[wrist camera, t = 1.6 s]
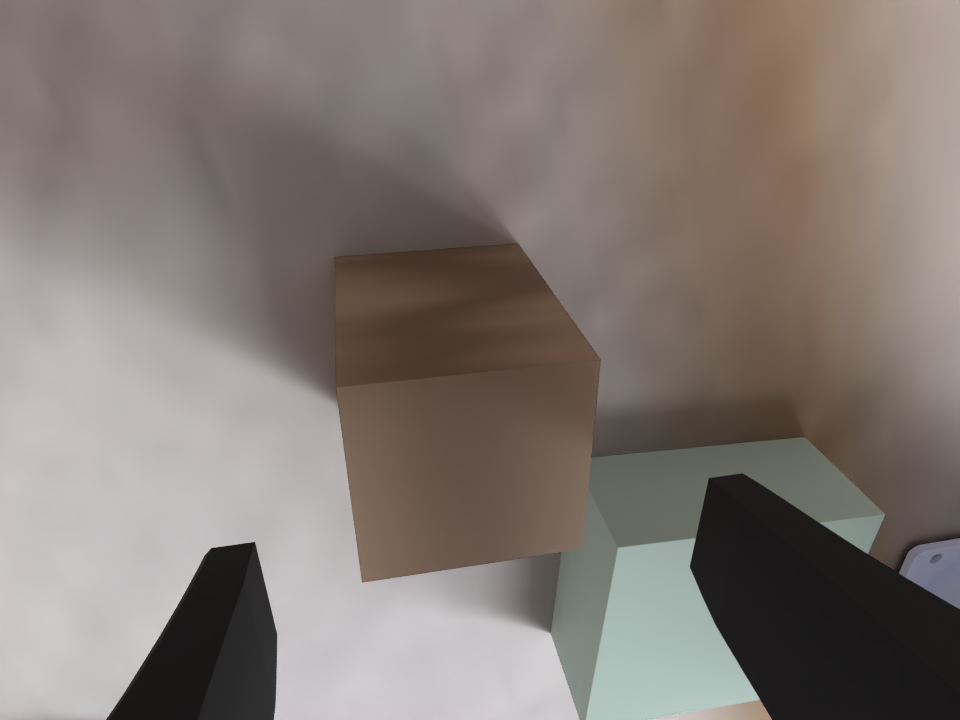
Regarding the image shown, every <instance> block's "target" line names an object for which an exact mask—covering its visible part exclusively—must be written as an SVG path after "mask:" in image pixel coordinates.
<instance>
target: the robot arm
mask: <svg viewBox="0 0 960 720" xmlns="http://www.w3.org/2000/svg"><path fill="white" fill-rule="evenodd" d="M690 569H691V571H692V574H693V576H694V578H695V581H696V583H697V585H698V588H699V590H700V592H701V595H702V597H703V599H704V601H705V604H706V606H707V608H708V610H709V612H710V614H711V616H712V619H713V621H714V623H715V625H716V627H717V628H718V630H719V632H720V634H721V635H722V637H723V639H724V640H725V642H726V644H727V645H728V647H729V649H730V650H731V652H732V654H733V656H734V657H735V659H736V661H737V662H738V664H739V666H740V667H741V669H742V671H743V672H744V674H745V676H746V677H747V679H748V680H749V682H750V684H751V685H752V687H753V689H754V690H755V692H756V694H757V695H758V697H759V699H760V700H761V702H762V703H763V705H764V707H765V708H766V710H767V712H768V713H769V715H770V717H771V718H772V720H960V538H958V539H952V540H946V541H940V542H934V543H928V544H922V545H918V546H916V547H914V548H912V549H911V550H910V551H909V552H908V554H907V555H906V558H905V560H904V562H903V565H902V567H901V569H900V571H899V573H897V572H896V571H894V570H893V569H891V568H889V567H888V566H886V565H884V564H883V563H881V562H880V561H878V560H876V559H875V558H873V557H872V556H870V555H868V554H867V553H865V552H864V551H862V550H861V549H859V548H858V547H856V546H854V545H853V544H851V543H850V542H848V541H847V540H845V539H844V538H842V537H840V536H839V535H837V534H836V533H834V532H833V531H831V530H830V529H828V528H827V527H825V526H824V525H822V524H821V523H819V522H818V521H816V520H815V519H813V518H812V517H810V516H809V515H807V514H806V513H804V512H802V511H801V510H799V509H798V508H796V507H795V506H793V505H792V504H790V503H789V502H787V501H786V500H784V499H783V498H781V497H780V496H778V495H777V494H775V493H774V492H772V491H771V490H769V489H767V488H766V487H764V486H763V485H761V484H760V483H758V482H756V481H755V480H753V479H751V478H750V477H748V476H747V475H745V474H743V473H741V474H734V475H727V476H720V477H713V478H709V479H708V484H707V488H706V493H705V498H704V502H703V507H702V512H701V516H700V521H699V526H698V530H697V535H696V540H695V544H694V549H693V553H692V558H691V563H690ZM276 668H277V632H276V628H275V624H274V620H273V616H272V611H271V607H270V603H269V599H268V595H267V590H266V586H265V582H264V578H263V574H262V570H261V565H260V561H259V557H258V553H257V549H256V545H255V542H252V543H245V544H238V545H231V546H224V547H217V548H211V549H210V550H209V552H208V553H207V554H206V555H205V556H204V558H203V560H202V562H201V564H200V566H199V568H198V570H197V571H196V573H195V575H194V577H193V579H192V581H191V583H190V584H189V586H188V588H187V590H186V592H185V593H184V595H183V597H182V599H181V601H180V602H179V604H178V606H177V608H176V609H175V611H174V613H173V615H172V616H171V618H170V620H169V621H168V623H167V625H166V627H165V628H164V630H163V632H162V633H161V635H160V637H159V638H158V640H157V642H156V643H155V645H154V646H153V648H152V650H151V651H150V653H149V654H148V656H147V658H146V659H145V661H144V662H143V664H142V666H141V667H140V669H139V670H138V672H137V674H136V675H135V677H134V679H133V680H132V682H131V683H130V685H129V686H128V688H127V690H126V691H125V693H124V694H123V696H122V697H121V699H120V700H119V702H118V703H117V705H116V706H115V708H114V709H113V710H112V712H111V713H110V715H109V716H108V718H107V719H106V720H274V712H275V702H276Z"/></svg>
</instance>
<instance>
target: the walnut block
mask: <svg viewBox="0 0 960 720" xmlns="http://www.w3.org/2000/svg"><path fill="white" fill-rule="evenodd" d="M335 347H336V393H337V400H338V408H339V415H340V422H341V430H342V437H343V445H344V452H345V459H346V467H347V474H348V482H349V489H350V496H351V504H352V511H353V519H354V526H355V533H356V541H357V548H358V556H359V563H360V570H361V578H362V583H363V582H369V581H376V580H382V579H389V578H395V577H402V576H409V575H415V574H422V573H428V572H435V571H441V570H448V569H455V568H461V567H468V566H474V565H481V564H487V563H494V562H501V561H507V560H514V559H520V558H527V557H533V556H540V555H547V554H553V553H560V552H566V551H573V550H579V549H582V548H583V537H584V527H585V517H586V506H587V496H588V486H589V476H590V465H591V455H592V445H593V434H594V424H595V414H596V403H597V393H598V383H599V373H600V362H601V360H600V358H599V357H598V355H597V354H596V353H595V351H594V350H593V348H592V347H591V346H590V344H589V343H588V341H587V340H586V338H585V337H584V336H583V334H582V333H581V331H580V330H579V329H578V327H577V326H576V324H575V323H574V322H573V320H572V319H571V317H570V316H569V314H568V313H567V312H566V310H565V309H564V307H563V306H562V305H561V303H560V302H559V300H558V299H557V298H556V296H555V295H554V293H553V292H552V291H551V289H550V288H549V286H548V285H547V283H546V282H545V281H544V279H543V278H542V276H541V275H540V274H539V272H538V271H537V269H536V268H535V267H534V265H533V264H532V262H531V261H530V259H529V258H528V257H527V255H526V254H525V252H524V251H523V250H522V248H521V247H520V245H519V244H505V245H491V246H478V247H464V248H451V249H437V250H423V251H410V252H396V253H383V254H369V255H356V256H342V257H335Z"/></svg>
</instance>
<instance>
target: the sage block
mask: <svg viewBox="0 0 960 720" xmlns="http://www.w3.org/2000/svg"><path fill="white" fill-rule="evenodd" d="M741 473H743V474H745V475H747V476H748V477H750V478H751V479H753V480H755V481H756V482H758V483H760V484H761V485H763V486H764V487H766V488H767V489H769V490H771V491H772V492H774V493H775V494H777V495H778V496H780V497H781V498H783V499H784V500H786V501H787V502H789V503H790V504H792V505H793V506H795V507H796V508H798V509H799V510H801V511H802V512H804V513H806V514H807V515H809V516H810V517H812V518H813V519H815V520H816V521H818V522H819V523H821V524H822V525H824V526H825V527H827V528H828V529H830V530H831V531H833V532H834V533H836V534H837V535H839V536H840V537H842V538H844V539H845V540H847V541H848V542H850V543H851V544H853V545H854V546H856V547H858V548H859V549H861V550H862V551H864V552H865V553H867V554H868V553H869V551H870V548H871V546H872V544H873V542H874V539H875V537H876V535H877V533H878V530H879V528H880V526H881V524H882V521H883V519H884V517H885V514H884V513H883V512H882V511H881V510H880V509H879V508H878V507H877V506H876V505H875V504H874V503H873V502H872V501H871V500H870V499H869V498H868V497H867V496H866V495H865V494H864V493H863V492H862V491H861V490H860V489H859V488H857V487H856V486H855V485H854V484H853V483H852V482H851V481H850V480H849V479H848V478H847V477H846V476H845V475H844V474H843V473H842V472H841V471H840V470H839V469H838V468H837V467H836V466H835V465H834V464H833V463H832V462H830V461H829V460H828V459H827V458H826V457H825V456H824V455H823V454H822V453H821V452H820V451H819V450H818V449H817V448H816V447H815V446H814V445H813V444H812V443H811V442H810V441H809V440H808V439H807V438H806V437H799V438H789V439H778V440H768V441H757V442H747V443H737V444H726V445H716V446H705V447H695V448H685V449H674V450H664V451H653V452H643V453H633V454H622V455H612V456H601V457H591V465H590V476H589V486H588V496H587V506H586V517H585V527H584V537H583V548H582V549H579V550H573V551H566V552H561V558H560V565H559V573H558V581H557V588H556V596H555V604H554V612H553V619H552V627H551V635H552V638H553V641H554V644H555V647H556V650H557V653H558V656H559V659H560V662H561V665H562V668H563V671H564V674H565V677H566V680H567V683H568V686H569V689H570V692H571V695H572V698H573V701H574V704H575V707H576V710H577V713H578V716H579V719H580V720H648V719H654V718H659V717H665V716H671V715H676V714H682V713H688V712H693V711H699V710H705V709H710V708H716V707H722V706H727V705H733V704H739V703H744V702H750V701H756V700H760V699H759V697H758V695H757V694H756V692H755V690H754V689H753V687H752V685H751V684H750V682H749V680H748V679H747V677H746V676H745V674H744V672H743V671H742V669H741V667H740V666H739V664H738V662H737V661H736V659H735V657H734V656H733V654H732V652H731V650H730V649H729V647H728V645H727V644H726V642H725V640H724V639H723V637H722V635H721V634H720V632H719V630H718V628H717V627H716V625H715V623H714V621H713V619H712V616H711V614H710V612H709V610H708V608H707V606H706V604H705V601H704V599H703V597H702V595H701V592H700V590H699V588H698V585H697V583H696V581H695V578H694V576H693V574H692V571H691V569H690V563H691V558H692V553H693V549H694V544H695V540H696V535H697V530H698V526H699V521H700V516H701V512H702V507H703V502H704V498H705V493H706V488H707V484H708V479H709V478H713V477H720V476H727V475H734V474H741Z"/></svg>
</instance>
